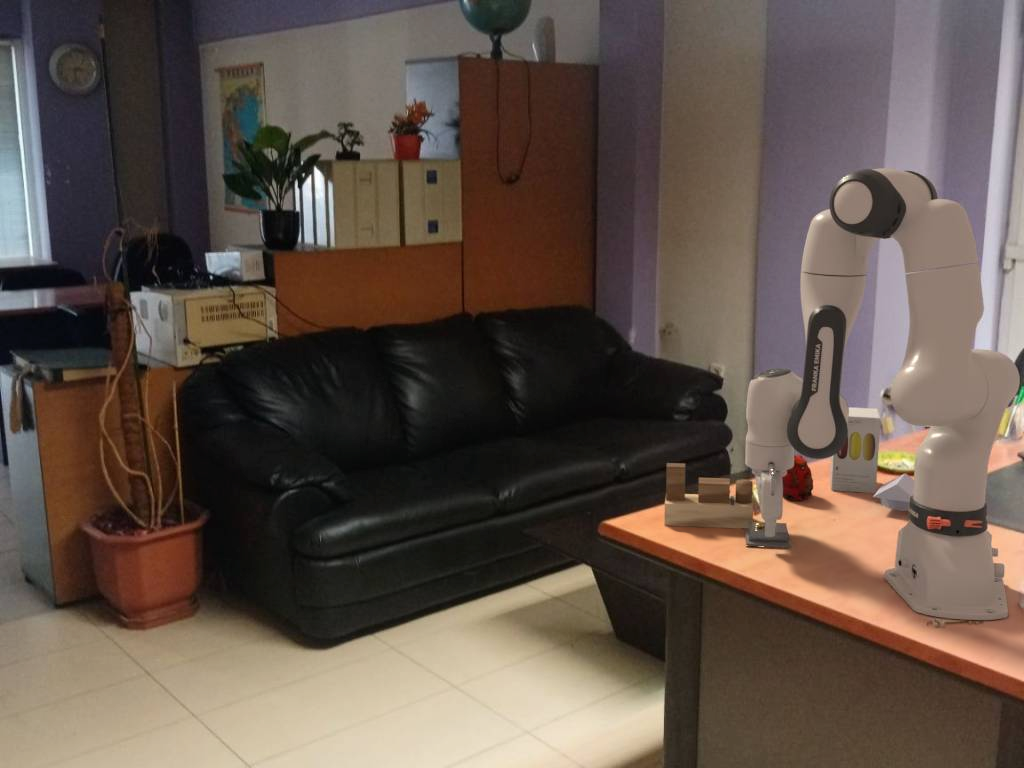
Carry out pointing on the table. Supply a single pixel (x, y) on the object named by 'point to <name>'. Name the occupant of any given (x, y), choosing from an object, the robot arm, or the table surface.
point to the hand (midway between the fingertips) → (767, 526)
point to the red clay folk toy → (798, 480)
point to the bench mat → (766, 544)
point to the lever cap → (758, 532)
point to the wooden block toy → (706, 501)
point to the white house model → (896, 493)
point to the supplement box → (858, 453)
